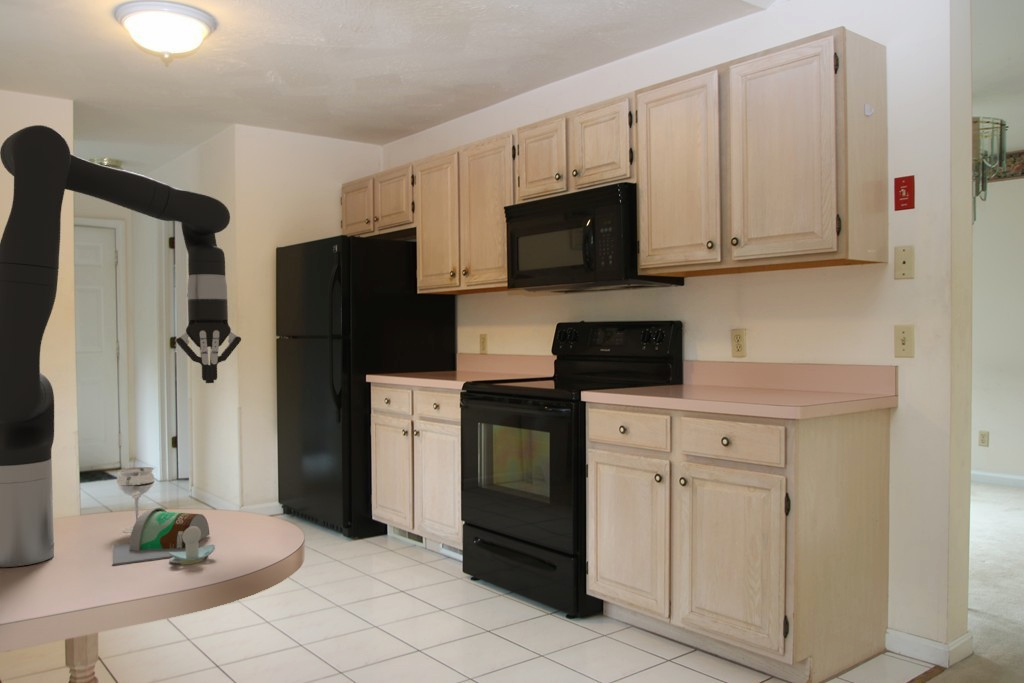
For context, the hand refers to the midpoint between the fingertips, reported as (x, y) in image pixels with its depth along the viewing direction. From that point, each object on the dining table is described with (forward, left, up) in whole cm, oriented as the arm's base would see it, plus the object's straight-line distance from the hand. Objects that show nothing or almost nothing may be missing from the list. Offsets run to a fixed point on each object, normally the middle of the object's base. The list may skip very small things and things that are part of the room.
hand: (209, 382), depth 158 cm
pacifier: (-6, -26, -29) cm, 40 cm away
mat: (-11, -15, -29) cm, 34 cm away
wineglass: (-14, +4, -29) cm, 33 cm away
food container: (-4, -14, -26) cm, 29 cm away
